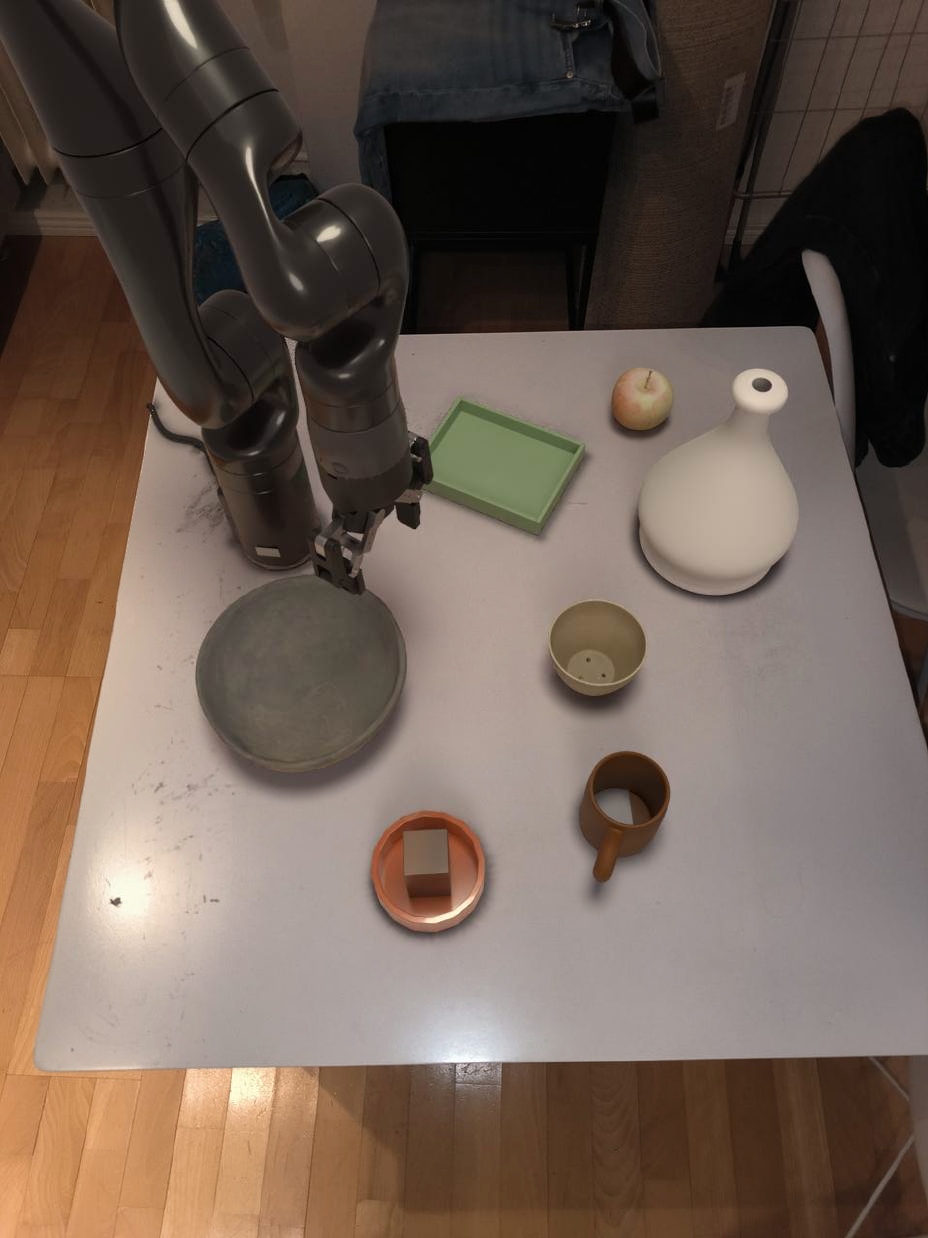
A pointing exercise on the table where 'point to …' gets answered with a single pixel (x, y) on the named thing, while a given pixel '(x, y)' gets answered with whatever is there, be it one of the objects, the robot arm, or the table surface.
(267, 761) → the bowl
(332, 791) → the table surface
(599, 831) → the mug
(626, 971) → the table surface
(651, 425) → the fruit
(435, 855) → the block
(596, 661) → the flower pot
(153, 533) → the table surface
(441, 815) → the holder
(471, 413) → the tray
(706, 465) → the vase
